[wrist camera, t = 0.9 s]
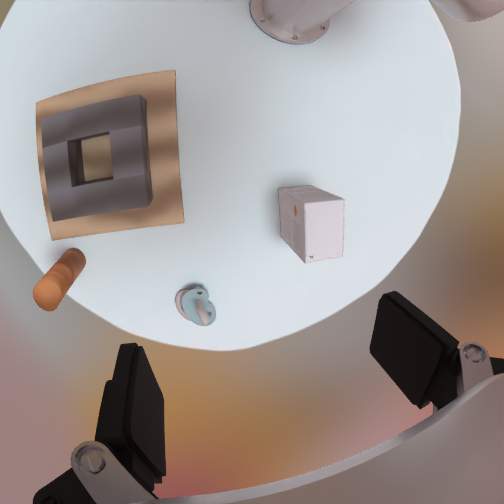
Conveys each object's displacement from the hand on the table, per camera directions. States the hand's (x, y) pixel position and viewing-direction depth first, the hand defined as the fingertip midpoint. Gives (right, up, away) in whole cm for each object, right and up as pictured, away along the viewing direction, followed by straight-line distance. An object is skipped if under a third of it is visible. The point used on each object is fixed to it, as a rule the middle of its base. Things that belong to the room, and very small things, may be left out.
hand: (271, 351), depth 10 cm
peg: (-29, +2, +28) cm, 40 cm away
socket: (-22, +17, +24) cm, 36 cm away
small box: (+6, +10, +33) cm, 35 cm away
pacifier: (-10, -5, +36) cm, 37 cm away
